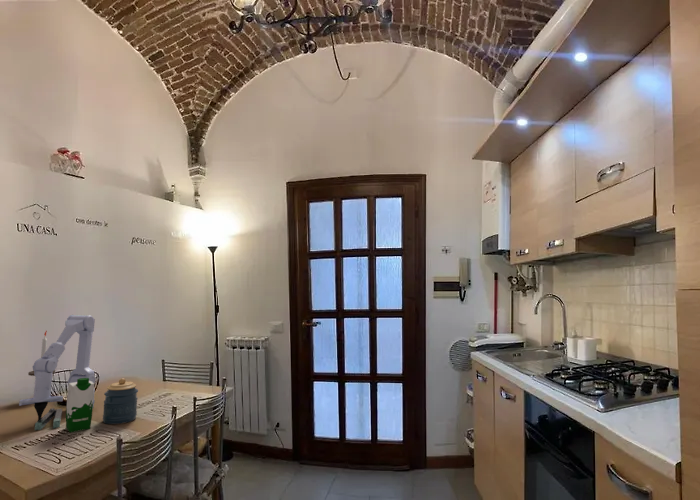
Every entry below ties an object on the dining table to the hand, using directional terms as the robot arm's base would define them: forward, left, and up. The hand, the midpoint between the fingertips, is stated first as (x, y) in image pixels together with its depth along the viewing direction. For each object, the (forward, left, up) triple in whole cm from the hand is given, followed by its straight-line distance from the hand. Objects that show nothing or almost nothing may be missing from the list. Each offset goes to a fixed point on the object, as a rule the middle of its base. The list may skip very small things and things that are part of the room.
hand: (39, 421), depth 169 cm
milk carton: (-14, +13, -2) cm, 19 cm away
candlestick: (+3, -43, -2) cm, 43 cm away
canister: (-29, +9, -2) cm, 30 cm away
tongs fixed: (-5, -2, -1) cm, 5 cm away
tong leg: (-2, 0, -1) cm, 2 cm away
